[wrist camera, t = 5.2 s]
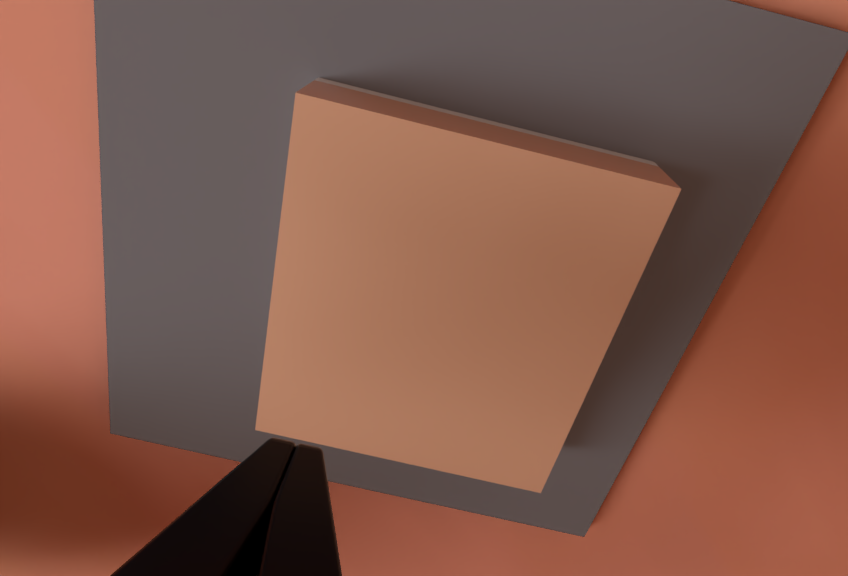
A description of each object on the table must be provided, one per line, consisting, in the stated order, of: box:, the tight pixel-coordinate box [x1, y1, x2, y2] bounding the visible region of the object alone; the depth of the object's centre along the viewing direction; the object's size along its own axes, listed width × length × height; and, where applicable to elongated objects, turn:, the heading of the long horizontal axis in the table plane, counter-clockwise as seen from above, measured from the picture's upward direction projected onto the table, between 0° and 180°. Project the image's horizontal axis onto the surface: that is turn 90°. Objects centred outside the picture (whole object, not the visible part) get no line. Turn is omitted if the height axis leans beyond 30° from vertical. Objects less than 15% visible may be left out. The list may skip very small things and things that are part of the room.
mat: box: [94, 0, 848, 537], centre depth 16 cm, size 16×16×1 cm
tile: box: [255, 77, 681, 493], centre depth 15 cm, size 9×2×8 cm
